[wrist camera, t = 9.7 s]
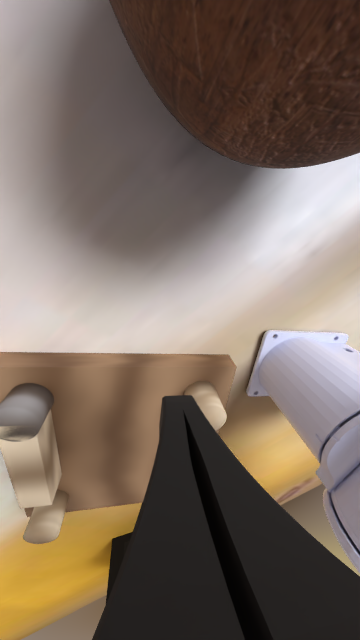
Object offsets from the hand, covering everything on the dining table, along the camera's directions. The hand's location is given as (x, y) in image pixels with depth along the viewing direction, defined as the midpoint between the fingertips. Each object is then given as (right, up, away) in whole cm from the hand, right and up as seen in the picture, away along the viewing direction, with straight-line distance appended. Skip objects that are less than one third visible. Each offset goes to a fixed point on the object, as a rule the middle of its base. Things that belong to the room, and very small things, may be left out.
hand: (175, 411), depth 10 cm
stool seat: (-6, -8, +13) cm, 16 cm away
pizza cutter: (-12, -6, +9) cm, 16 cm away
